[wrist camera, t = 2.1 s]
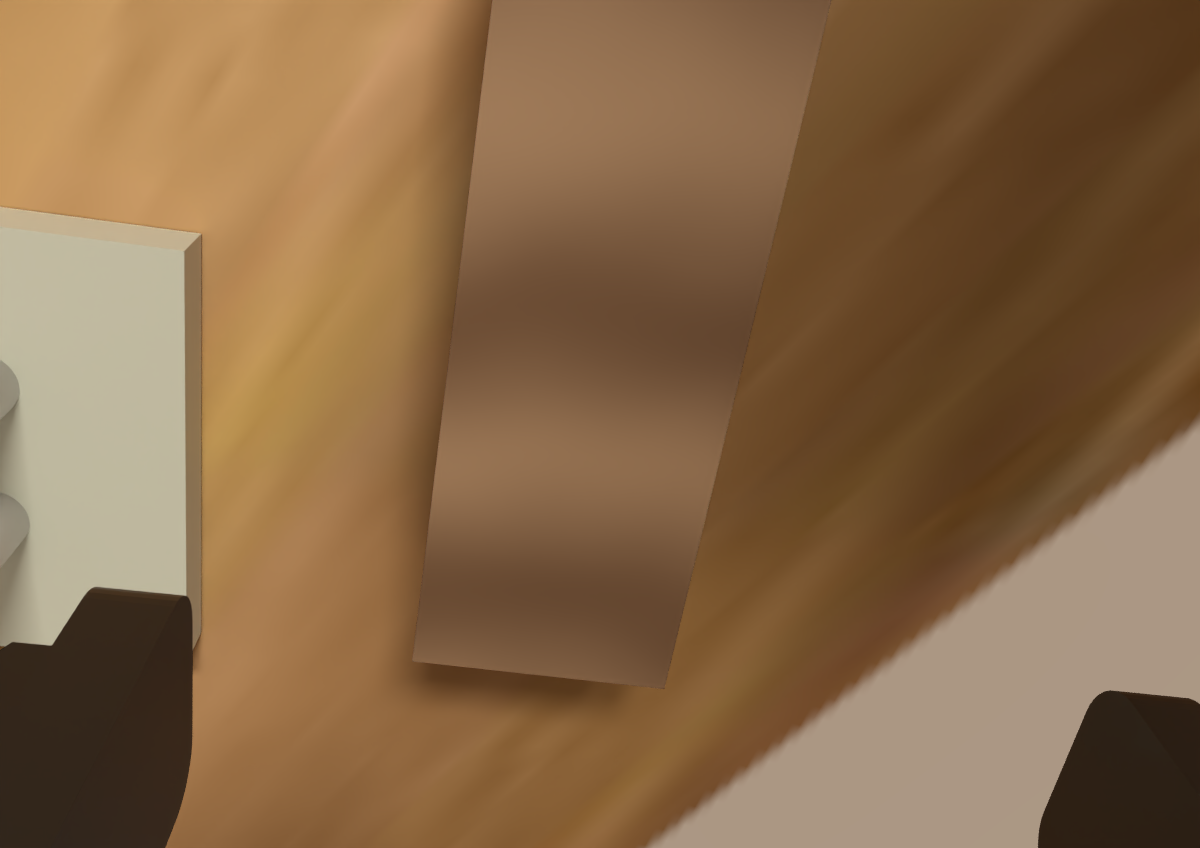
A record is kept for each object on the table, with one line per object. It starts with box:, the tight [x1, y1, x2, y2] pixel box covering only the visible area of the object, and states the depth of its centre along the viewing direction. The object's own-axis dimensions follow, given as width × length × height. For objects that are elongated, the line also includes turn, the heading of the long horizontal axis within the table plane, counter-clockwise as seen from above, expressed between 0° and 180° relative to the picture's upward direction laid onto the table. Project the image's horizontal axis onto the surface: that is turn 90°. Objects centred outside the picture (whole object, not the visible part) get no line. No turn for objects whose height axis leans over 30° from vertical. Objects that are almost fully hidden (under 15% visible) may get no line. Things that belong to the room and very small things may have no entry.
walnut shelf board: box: [412, 0, 831, 689], centre depth 22 cm, size 16×5×4 cm, turn 170°
